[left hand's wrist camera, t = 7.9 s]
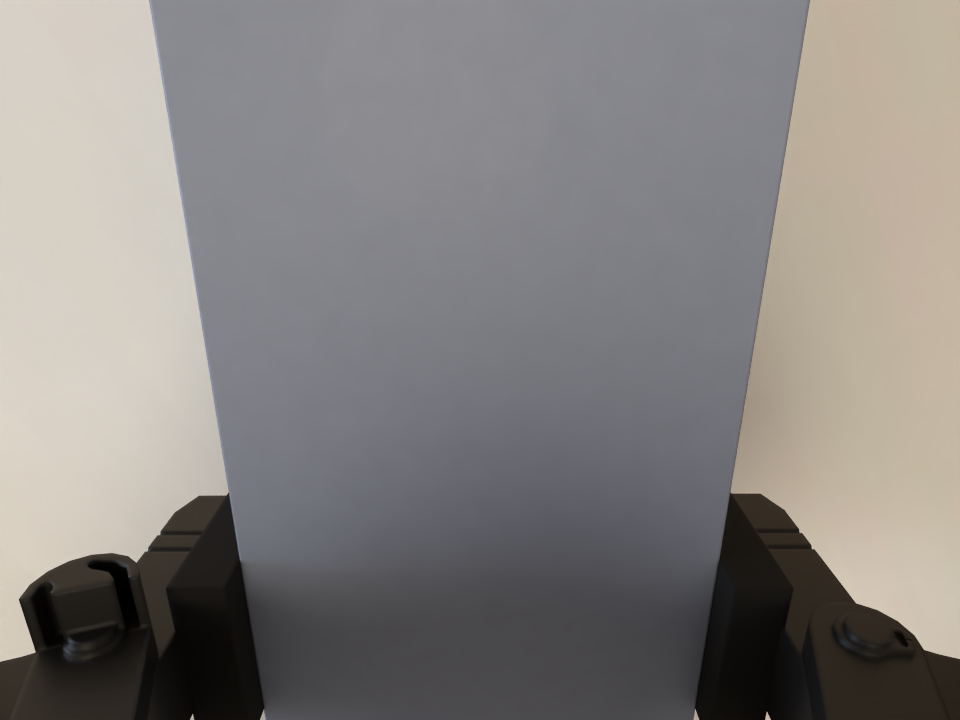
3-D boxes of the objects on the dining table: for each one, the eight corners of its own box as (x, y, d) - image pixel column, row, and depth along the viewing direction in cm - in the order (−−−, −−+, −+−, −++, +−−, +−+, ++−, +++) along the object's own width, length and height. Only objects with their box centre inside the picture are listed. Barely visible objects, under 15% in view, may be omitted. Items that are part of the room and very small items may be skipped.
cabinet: (329, -227, 14) (-21, -1029, 4) (629, -227, 14) (977, -1026, 4) (376, 481, 20) (280, 817, 10) (583, 481, 20) (678, 817, 10)
